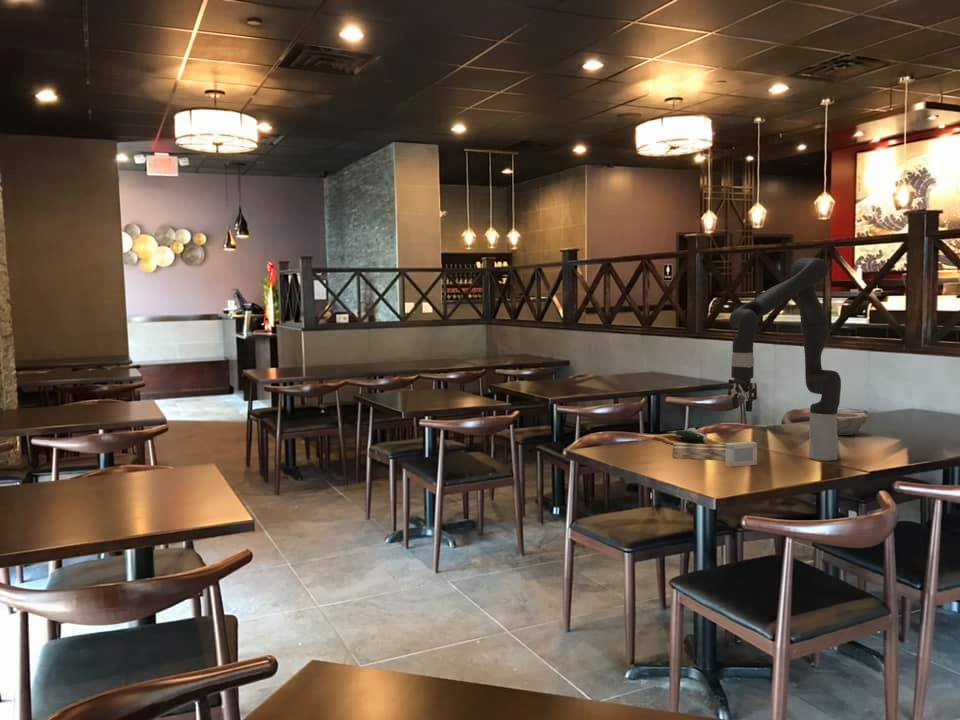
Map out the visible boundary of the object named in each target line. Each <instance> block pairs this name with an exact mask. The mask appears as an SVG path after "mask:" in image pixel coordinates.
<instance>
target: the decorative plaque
mask: <svg viewBox="0 0 960 720" xmlns="http://www.w3.org/2000/svg"><path fill="white" fill-rule="evenodd" d="M652 439H653V440H654V441H655V442H656V441H657V442H660V441H662V443H663V444H664V443H666V444H665V445H667V444H670V445H673V443H685V444H710V445H725V444H726V443H725V442H722V441H717V440H714V439H712V438H711V437H707V435H706V434H704V433H702V432H700V431H697V428H695V427H690V428H687V429H683V430H682V429H681V430H669V431H667V433H662V434H659V435H654V436H653V437H652ZM670 445H669V446H670Z"/></svg>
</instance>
